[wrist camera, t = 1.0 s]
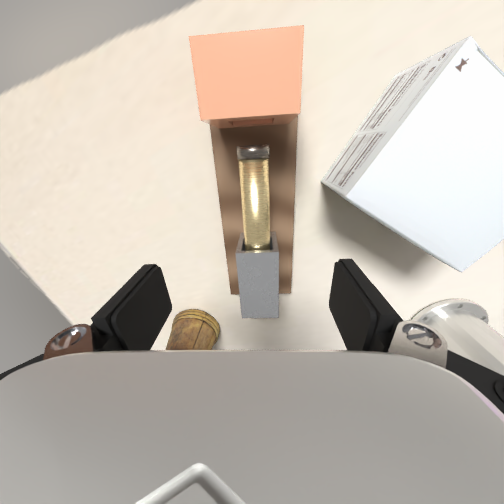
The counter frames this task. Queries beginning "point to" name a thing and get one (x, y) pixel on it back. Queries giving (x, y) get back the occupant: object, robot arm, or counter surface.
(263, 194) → the tube
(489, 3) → the counter surface
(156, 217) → the counter surface
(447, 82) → the supplement box
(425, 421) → the robot arm
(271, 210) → the base board
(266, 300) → the sleeve
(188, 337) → the wooden mug
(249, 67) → the socket block
